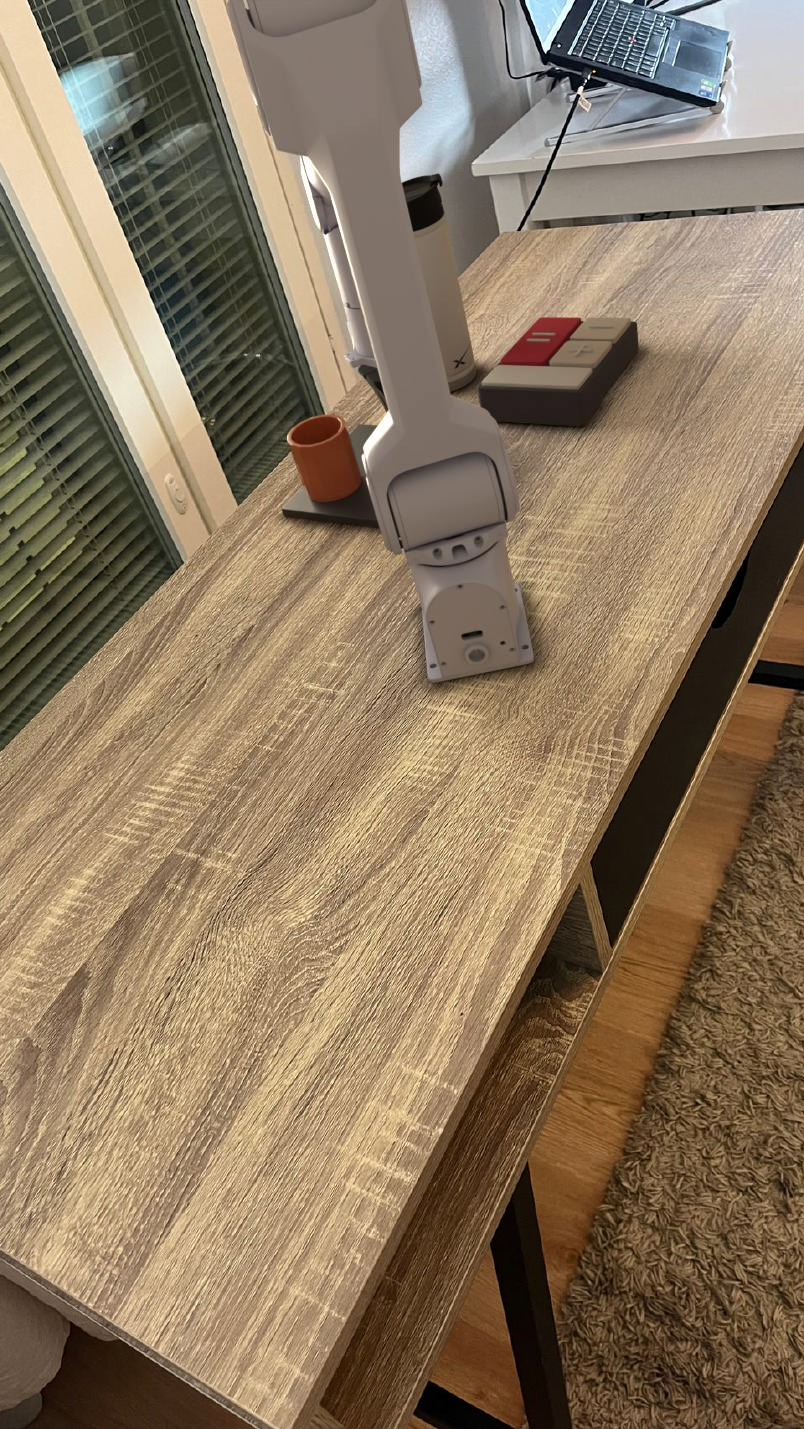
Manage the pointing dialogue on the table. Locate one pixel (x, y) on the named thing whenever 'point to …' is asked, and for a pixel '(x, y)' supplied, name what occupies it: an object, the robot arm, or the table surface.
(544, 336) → the calculator
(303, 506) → the scale
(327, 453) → the cup
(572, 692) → the table surface
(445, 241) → the travel mug
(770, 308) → the table surface
